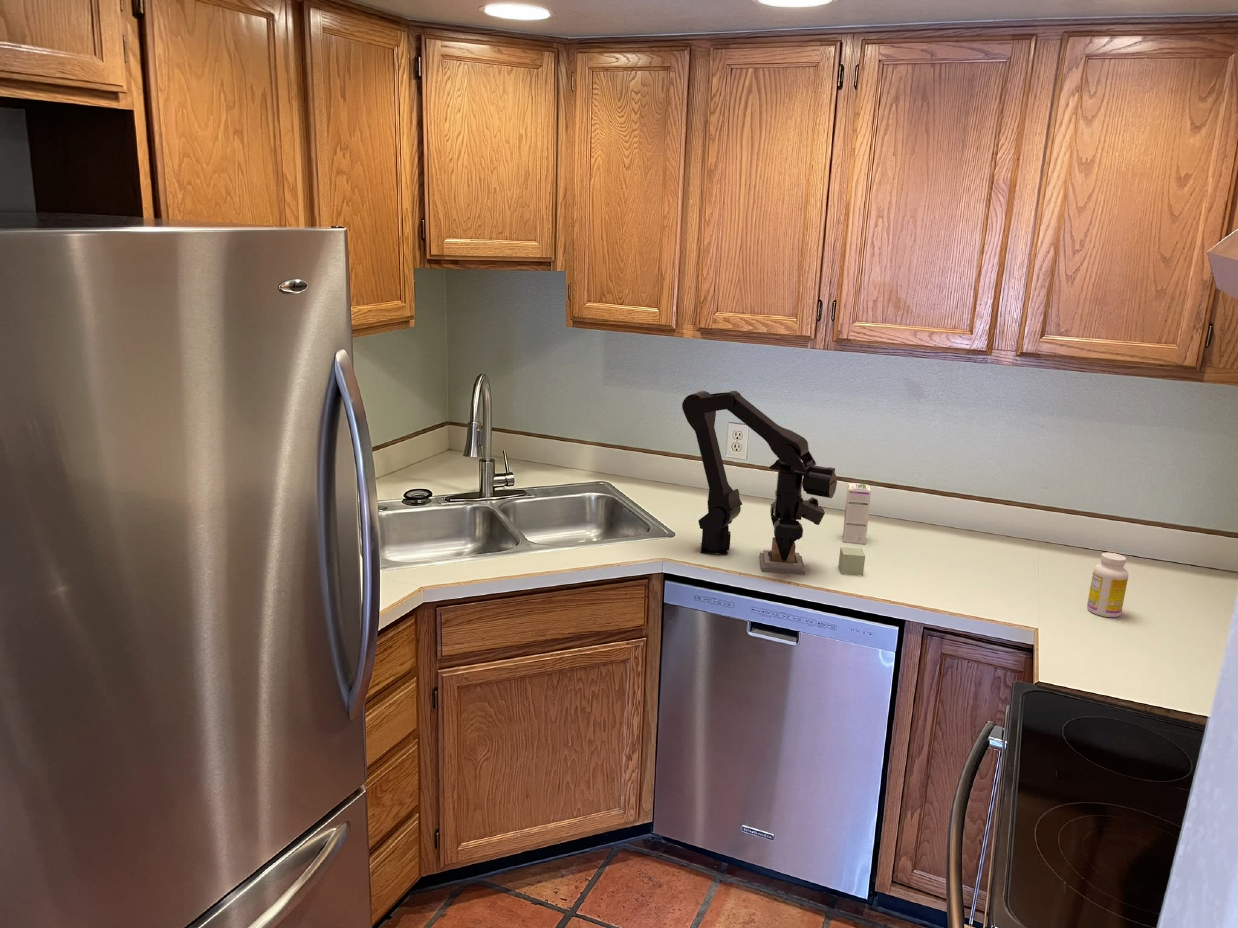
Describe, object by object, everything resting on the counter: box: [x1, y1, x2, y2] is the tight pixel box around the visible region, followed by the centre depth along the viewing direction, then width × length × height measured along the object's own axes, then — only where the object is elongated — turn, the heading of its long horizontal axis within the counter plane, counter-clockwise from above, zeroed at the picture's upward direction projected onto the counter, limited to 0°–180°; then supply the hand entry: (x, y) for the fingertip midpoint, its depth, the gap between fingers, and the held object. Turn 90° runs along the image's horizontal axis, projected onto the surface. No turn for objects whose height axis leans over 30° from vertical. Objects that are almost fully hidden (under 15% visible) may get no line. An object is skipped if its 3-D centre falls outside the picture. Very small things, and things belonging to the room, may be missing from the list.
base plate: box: [759, 549, 806, 576], centre depth 216 cm, size 10×10×2 cm
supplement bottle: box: [1086, 552, 1129, 618], centre depth 196 cm, size 7×7×13 cm
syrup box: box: [842, 482, 872, 545], centre depth 234 cm, size 6×6×14 cm
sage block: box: [837, 546, 866, 577], centre depth 214 cm, size 5×5×5 cm
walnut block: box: [770, 536, 797, 563], centre depth 215 cm, size 5×5×5 cm
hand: (782, 553), depth 215 cm, fingers open, 9 cm apart
